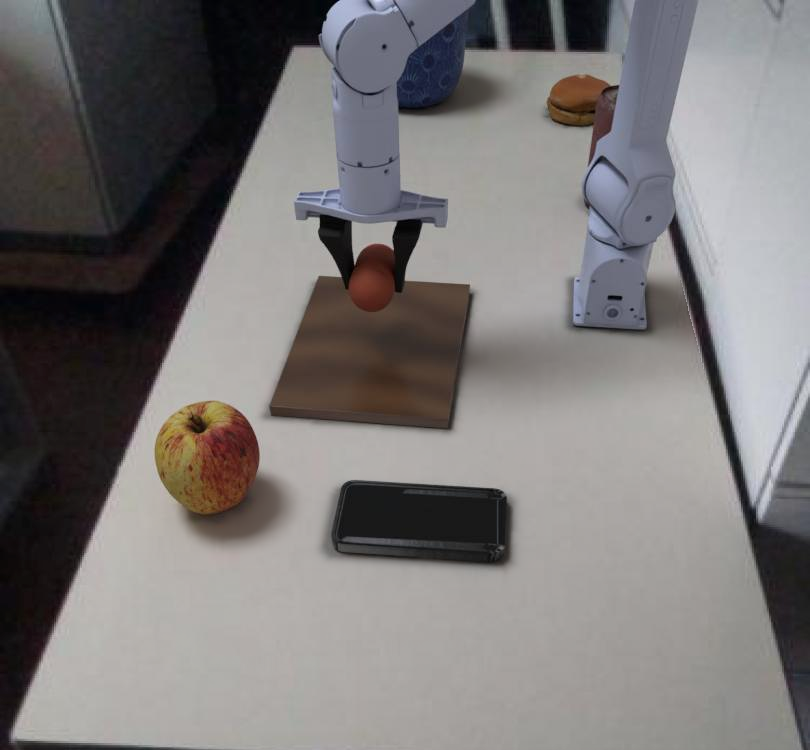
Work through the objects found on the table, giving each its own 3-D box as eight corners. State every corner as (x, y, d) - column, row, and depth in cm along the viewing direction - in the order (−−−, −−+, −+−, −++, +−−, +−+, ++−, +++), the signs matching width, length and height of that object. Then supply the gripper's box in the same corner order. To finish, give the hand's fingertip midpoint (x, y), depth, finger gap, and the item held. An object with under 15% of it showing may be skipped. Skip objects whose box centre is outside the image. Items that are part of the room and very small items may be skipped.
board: (447, 428, 84) (447, 419, 83) (270, 415, 86) (269, 406, 85) (469, 293, 100) (470, 284, 99) (319, 284, 102) (318, 275, 101)
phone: (504, 554, 72) (329, 542, 73) (503, 563, 73) (330, 551, 74) (507, 488, 77) (343, 478, 78) (506, 496, 78) (344, 486, 79)
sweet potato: (391, 322, 86) (389, 282, 82) (346, 319, 86) (342, 279, 83) (403, 276, 91) (402, 236, 88) (361, 273, 92) (358, 233, 88)
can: (627, 192, 115) (647, 82, 104) (631, 216, 111) (652, 103, 100) (582, 191, 115) (597, 81, 105) (583, 214, 111) (599, 102, 101)
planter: (354, 82, 142) (347, -24, 130) (454, 72, 144) (456, -34, 132) (370, 124, 131) (364, 13, 119) (478, 113, 133) (482, 2, 121)
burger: (559, 130, 128) (562, 97, 124) (538, 105, 134) (541, 73, 131) (620, 122, 129) (625, 89, 126) (597, 98, 135) (601, 66, 132)
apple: (246, 542, 75) (226, 459, 68) (152, 526, 77) (121, 443, 69) (280, 471, 81) (264, 388, 73) (191, 457, 82) (167, 374, 75)
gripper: (452, 137, 79) (449, 268, 89) (299, 131, 81) (314, 260, 91) (443, 172, 75) (442, 307, 85) (282, 165, 76) (299, 298, 86)
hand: (375, 285), depth 88 cm, fingers closed on sweet potato, 4 cm apart
